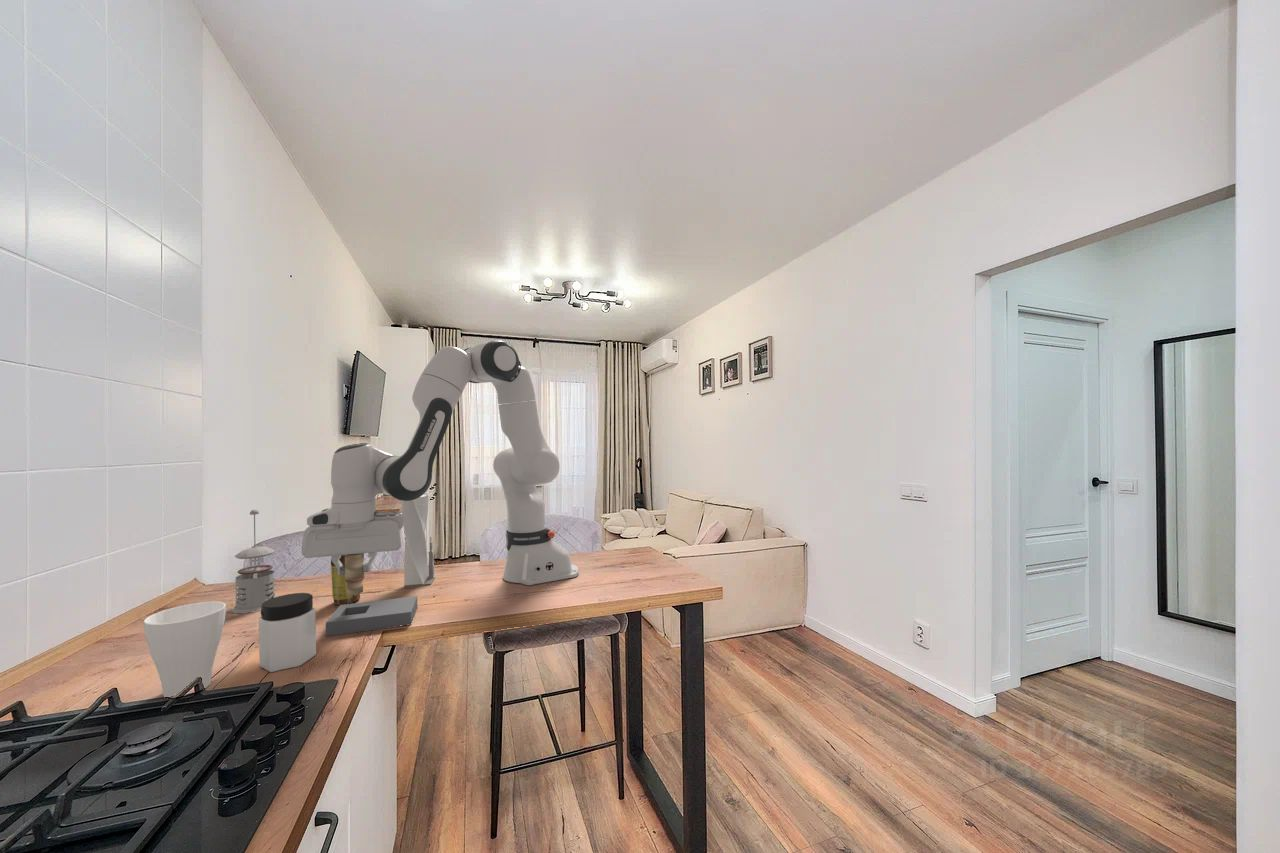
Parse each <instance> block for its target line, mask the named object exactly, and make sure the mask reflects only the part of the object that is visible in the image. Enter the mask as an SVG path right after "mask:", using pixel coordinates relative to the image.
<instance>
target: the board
mask: <svg viewBox="0 0 1280 853" xmlns="http://www.w3.org/2000/svg"><path fill="white" fill-rule="evenodd" d="M416 610H418V595H415V596H413V595H412V596H408V597H407V596H405V597H395V598H388V599H379V600H373V601H372V600H371V601H363V602H354V603H350V604H344V605H338V606H337V608H336V609H335V611H333V613H332V614H331V615H330V617H329V618H328V619H327V620H326V621H325V636H326V637H331V636H337V635H345V634H352V633H361V632H368V631H374V630H382V629H383V628H384V629H389V628H388V627H391V628H395V627H394V626H399V627H401V626H400V625H406V626H408V625H407V624H411V623H412V624H413V622H412V621H414V619H415V616H416V613H417V611H416ZM413 618H414V619H413ZM412 624H411V625H412Z"/></svg>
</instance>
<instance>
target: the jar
mask: <svg viewBox="0 0 1280 853" xmlns="http://www.w3.org/2000/svg"><path fill="white" fill-rule="evenodd" d="M313 597H314V596H313V594H311V593H309V592H308V593H307V592H295V593H287V594H283V595H278V596H275V598H272V599H269V600H267V601H265V602H264V603H262V605H261V611H260V616H261V617H258V642H259V643H258V645H259V649H258V655H259V656H258V657H259V660H258V661H259V667H260V668H263V669H264V670H266V671H268V672H270V673H274V672H280V671H283V670H288V669H293V668H296V667H297V668H298V667H300V666H302V665H303V664H305V663H306V662H308V661H309V660H310V659H312V658H313V657H314V656H315V657H316V655H317V638H316V637H317V634H316V627H317V626H316V623H317V622H316V621H317V620H316V608H314V607H313V606H314V602H313V599H314V598H313Z"/></svg>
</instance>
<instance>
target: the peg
mask: <svg viewBox="0 0 1280 853" xmlns="http://www.w3.org/2000/svg"><path fill="white" fill-rule="evenodd" d="M364 563H365V553H361V554H349V555H345V582H347V594H348V595H355V594H359V593H360V594H362V593H363V592H364V579H365V576H366V575H365V572H363V565H364Z"/></svg>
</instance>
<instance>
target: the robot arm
mask: <svg viewBox="0 0 1280 853" xmlns="http://www.w3.org/2000/svg"><path fill="white" fill-rule="evenodd" d="M469 383H471V384H481V383H482V384H483V383H492V385H493V386H494V389H495V391H496V393H497V405H498V413H499V419H500V420H499V421H500V427H501V432H503V434H504V435H505V436H506V437H507V438H508V441H509V442H510V445H511V447H509V448H506V449H504V450H501V451H499V452H498V453H497V454H496V455H495V457H494V460H493V464H492V465H493V470H494V471H493V472H494V473H495V474H496V476H497V477H498V479H499V481H500V483H501V487H502V489H503V490H502V491H503V493H504V498H505V501H506V502H505V503H506V510H507V511H506V512H507V514H506V516H507V530H506V533H505V547H506V551H507V552H506V561H505V568H504V572H503V574H502V580H504V581H506V582H509V583H514V584H515V583H516V584H522V585H526V586H532V585H537V584H543V583H549V582H554V581H555V582H556V581H561V580H566V579H570V578H575V577H578V576H579V568H578V566H577V565H575V563H572V561H571V556H570V554H569V551H568V550H567V549H566V548H564V547H563V546H561V545H560V544H558V543H557V542H555V541H554V540H553V539H554V538H555V537H556V536H555V535H556V534H555V531H553V530H552V529H550V528H547V527H546V512H545V510H546V507H545V502H544V499H543V498H542V497H541V495H540V494H539V491H538V490H537V486H541V485H546V484H549V483H552V482H553V481H554V480H555V479H556V478H557V477H558V475H559V472H560V468H561V467H560V461H559V458H558V456H557V455H556V454H555V453H554V452H553V451H552V450H551V448H550V447H549V446H548V443H547V441H546V438H545V437H544V434H543V431H542V429H541V425H540V420H539V414H538V408H537V398H536V394H535V388H534V384H533V381H532V377H531V374H530V372H529V371H528V369H527V368H526V367H524V366H522V363H521V361H520V357H519V355H518V353H517V350H516V349H515V348H514V346H513V345H512V344H511V343H509V342H507V341H504V340H491V341H487V342H480V343H478V344H476V345H474V346H471V347H467V348H465V349H463V350H462V349H461V348H459V347H457V346H449V345H447V346H443V347H441V348H440V349H439V350H438V351H436V353H435V354H434V355H433V357H432V358H431V360H429V361H428V363H427V365H426V366H425V368H424V369H423V371H422V372H421V374H420V376H419V378H418V380H417V382H416V383H415V384H416V385H415V387H414V390H413V393H412V396H411V398H412V403H413V405H414V407H415V408H416V410H417V411H418V414H419V422H418V424H417V427H416V429H415V431H414V433H413V436H412V437H411V440H410V441H409V445H408V447H407V449H406V450H405V451H404V453H403V454H402V455H400V456H399V455H396V454H395V455H394V454H392V453H388V452H385V451H383V450H380V449H379V448H377V447H375V446H373V445H372V444H371V443H368V442H361V443H360V442H359V443H354V444H353V443H352V444H348V445H344V446H342V447H339V448H337V449H336V451H334V453H333V455H332V460H331V467H330V469H331V470H330V484H331V487H332V490H333V491H332V492H333V493H332V496H331V507H330V508H325V509H322V510H321V511H317V512H315V513H313V514H311V515H309V516H308V517H307V518H306V525H308V527H306V528H305V530H304V531H303V534H302V540H301V555H302V556H303V557H304V558H306V559H311V558H323V557H332V562H333V563H334V565H335V566H336V567H337V574H338V575H341V574H345V565H342V563H341V562H340V560H339V559H340V558H341V555H349V554H361V553H364V554H368V556H367V557H368V558H369V560H368V562H364V565H363V572H364V573H369V572H372V568H373V567H372V564H373V562H374V560H375V558H376V557H377V555H378V554H377V553H380V552H381V553H382V552H393V551H394V552H395V551H398V550H400V549H401V547H402V546H403V545H404V537H403V536H404V535H403V530H402V528H404V527H403V516H402V513H400V512H397V510H389V511H376V496H377V495H380V494H385V495H387V496H390V497H393V498H395V499H396V500H399V501H401V500H402V501H410V500H414V499H417V498H419V497H420V496H422V495H425V492H426V493H427V491H428V489H429V488H430V486H431V485H432V480H433V470H434V469H433V468H434V462H435V460H436V459H435V458H436V456H437V453H438V451H439V449H440V447H441V444H442V442H443V440H444V437H445V434H446V432H447V430H448V427H449V424H450V421H451V417H452V415H453V413H454V410H455V408H456V406H457V404H458V402H459V401H460V398H461V397H462V395H463V392H464V390H465V387H466V386H467V385H468V384H469Z"/></svg>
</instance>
